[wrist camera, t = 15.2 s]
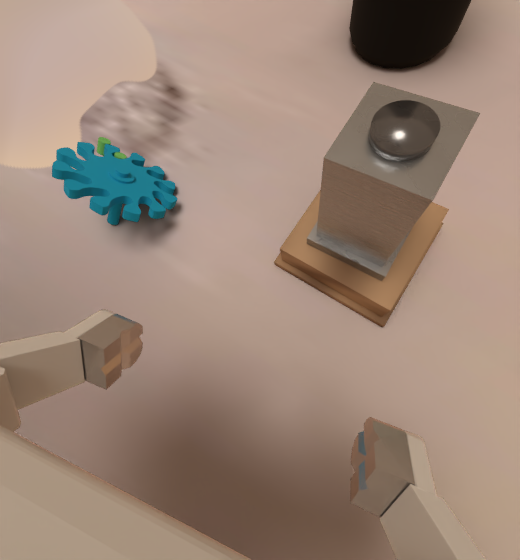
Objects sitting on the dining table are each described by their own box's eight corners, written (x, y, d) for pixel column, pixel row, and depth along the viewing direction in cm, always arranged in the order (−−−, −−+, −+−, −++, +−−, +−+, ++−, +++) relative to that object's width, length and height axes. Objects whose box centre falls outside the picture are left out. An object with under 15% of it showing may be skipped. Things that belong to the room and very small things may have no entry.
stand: (274, 264, 25) (271, 250, 22) (333, 178, 26) (337, 155, 23) (382, 327, 22) (393, 320, 19) (440, 226, 23) (458, 207, 21)
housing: (306, 243, 22) (309, 152, 12) (344, 183, 23) (371, 59, 14) (381, 281, 20) (447, 206, 11) (418, 214, 21) (505, 96, 12)
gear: (193, 214, 25) (58, 199, 19) (174, 258, 29) (55, 257, 23) (161, 146, 31) (46, 116, 24) (148, 191, 34) (45, 175, 28)
